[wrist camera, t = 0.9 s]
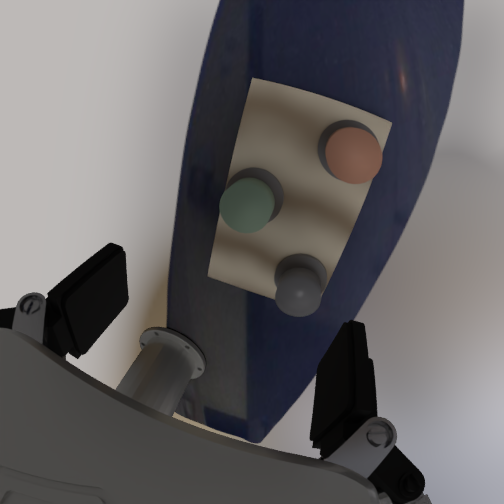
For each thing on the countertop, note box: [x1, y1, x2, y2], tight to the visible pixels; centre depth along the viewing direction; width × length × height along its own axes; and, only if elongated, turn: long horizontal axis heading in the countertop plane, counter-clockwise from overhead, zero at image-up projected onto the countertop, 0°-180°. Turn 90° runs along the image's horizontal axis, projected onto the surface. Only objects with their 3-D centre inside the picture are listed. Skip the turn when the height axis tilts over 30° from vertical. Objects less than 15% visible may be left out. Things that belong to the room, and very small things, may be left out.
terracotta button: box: [325, 127, 382, 184], centre depth 20 cm, size 4×4×2 cm
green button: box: [219, 178, 275, 233], centre depth 24 cm, size 4×4×2 cm
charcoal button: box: [275, 268, 321, 317], centre depth 27 cm, size 4×4×2 cm
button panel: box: [208, 78, 392, 299], centre depth 27 cm, size 22×13×3 cm, turn 166°
